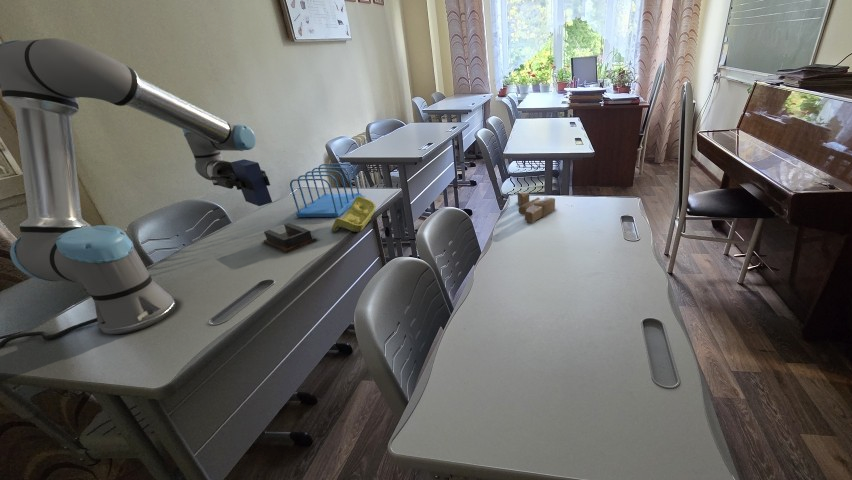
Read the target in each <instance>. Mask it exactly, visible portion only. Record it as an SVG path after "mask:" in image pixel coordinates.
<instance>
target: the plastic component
mask: <svg viewBox="0 0 852 480" xmlns="http://www.w3.org/2000/svg"><path fill="white" fill-rule="evenodd" d="M376 208H377V205H376V204H375V202H373V201H372V200H370V199H368V198H365V197H363V196H362V197H360V196H358V197H356V199H355V200H354V202H353V204H352V206H350V207H349V208H348V209H347V212H346V213H345V215H344V216H343V217H342V218H341V217H336V218H335V220H334V222H333V224H332V227H331V232H333V233H335V232H337V231H338V230H339V229H340V227H341V228H343V229H347V230H348V231H351V232H354V233H360V232H363V229H364V228H365V227H366V226H367V225H368V224H369V222H370V221H371V219H372V216H373V215H374V213H375V211H376Z"/></svg>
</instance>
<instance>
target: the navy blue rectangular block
mask: <svg viewBox="0 0 852 480" xmlns="http://www.w3.org/2000/svg"><path fill="white" fill-rule="evenodd" d="M230 162H231V165H232V167H233V170H234V173H235V175H236V177H237V178H244V179H248V180H251V182H252V185H253V187H254V190H249V189H246V188H243V187H241V188H242V189H241V193H242V195H243V198H244V201H245V202H246V203H248V204H249V203H250V204H252V205H254V206H258V207H262V206H265V205H268V204H271V203H273V200H272V196H271V194H270V191H269V188H268V186H267V185H266V183H265V180H264V177H263V174H262V172H261V170H262V169H261V166H260V164H259V162H257V161H253V160H249V159H240V160H235V161H230ZM238 180H239V179H238Z"/></svg>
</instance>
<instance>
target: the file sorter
mask: <svg viewBox="0 0 852 480" xmlns="http://www.w3.org/2000/svg"><path fill="white" fill-rule="evenodd" d="M326 166H327V167H326ZM343 166H348V167H350V168H352V172H353V173H352V174H353V178H354V181H355V185H356V186H355V187H356V191H357V193H356V192H354V190H353V186H352V183H351V177H350V174H349V171H348V170H347V168H346V167H343ZM337 169H341V170H344V171H345V172H346V175H347V179H348V180H347V181H348V184H349V187H350V193H349V192H347V188H346V183H345V179H344V176H343V174H342V173H341V172H340V171H338V170H337ZM315 173H318V174H315ZM322 173H337V174H338V175H339V176H340V178H341V182H342V186H343V190H344V193H340V189H339V185H338V181H337V179H336V177H335V176H333V175H332V174H322ZM302 177H303V178H302ZM309 177H312V178H309ZM315 177H319V178H315ZM323 177H331V179H333V180H334V183H335V187H336V191H337V193H333V191H332V186H331V183H330V182H329V180H327V179H325V178H323ZM296 181H297V185H298V189H299V192H300V195H301V199H302V201H303V205H304V207H303V208H302V209H300V208H299V203H298V201H297V197H296V194H295V192H294V188H293V182H296ZM301 181H305V183H306V186H307V190H308V193H309V197H310V200H311V203H309V204H308V205H307V203H306V199H305V195H304V193H303V190H302V189H303V188H302V185H301ZM309 181H313V183H314V188H315V191H316V194H317V198H316V199H315V200H314V198H313V194H312V191H311V188H310V184H309ZM316 181H320V182H321V186H322V190H323V194H322V195H320V193H319V190H318V186H317V182H316ZM324 182H325V183H327V186H328V188H329V193H327V191H326V188H325V184H324ZM289 187H290V190H291V195H292V198H293V201H294V203H295V207H296V210H297V212H296V213H295V215H296V218H340V216H341V215H342V214H344V213H345V212H346V211H348V210H349V209H350V207H351V206H352V204H353V202H354V200H355V199H356V197H358V196H360V197H363V195H362V193H361V192H360V190H359V185H358V181H357V175H356V171H355V168H354V166H353V165H352V164H350V163H322V164H320V165H319V166H318V167H314V168H313V169H312V170H309V171H307V172H305V174H302V175H299V176H298V177H297V178H295V179H294V178H293V179H291V180H290V182H289Z"/></svg>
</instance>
